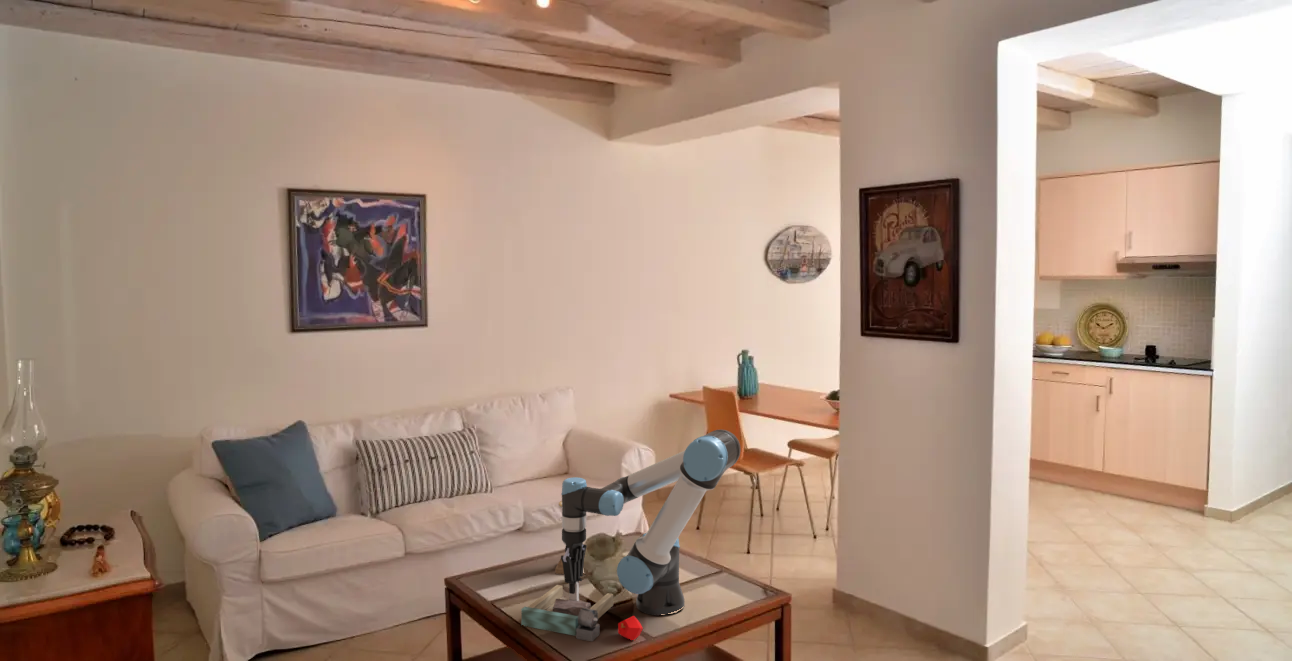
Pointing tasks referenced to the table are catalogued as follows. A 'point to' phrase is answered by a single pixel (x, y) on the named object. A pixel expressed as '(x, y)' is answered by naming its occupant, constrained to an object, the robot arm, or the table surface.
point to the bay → (557, 621)
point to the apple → (630, 628)
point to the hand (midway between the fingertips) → (573, 602)
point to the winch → (587, 625)
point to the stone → (569, 606)
